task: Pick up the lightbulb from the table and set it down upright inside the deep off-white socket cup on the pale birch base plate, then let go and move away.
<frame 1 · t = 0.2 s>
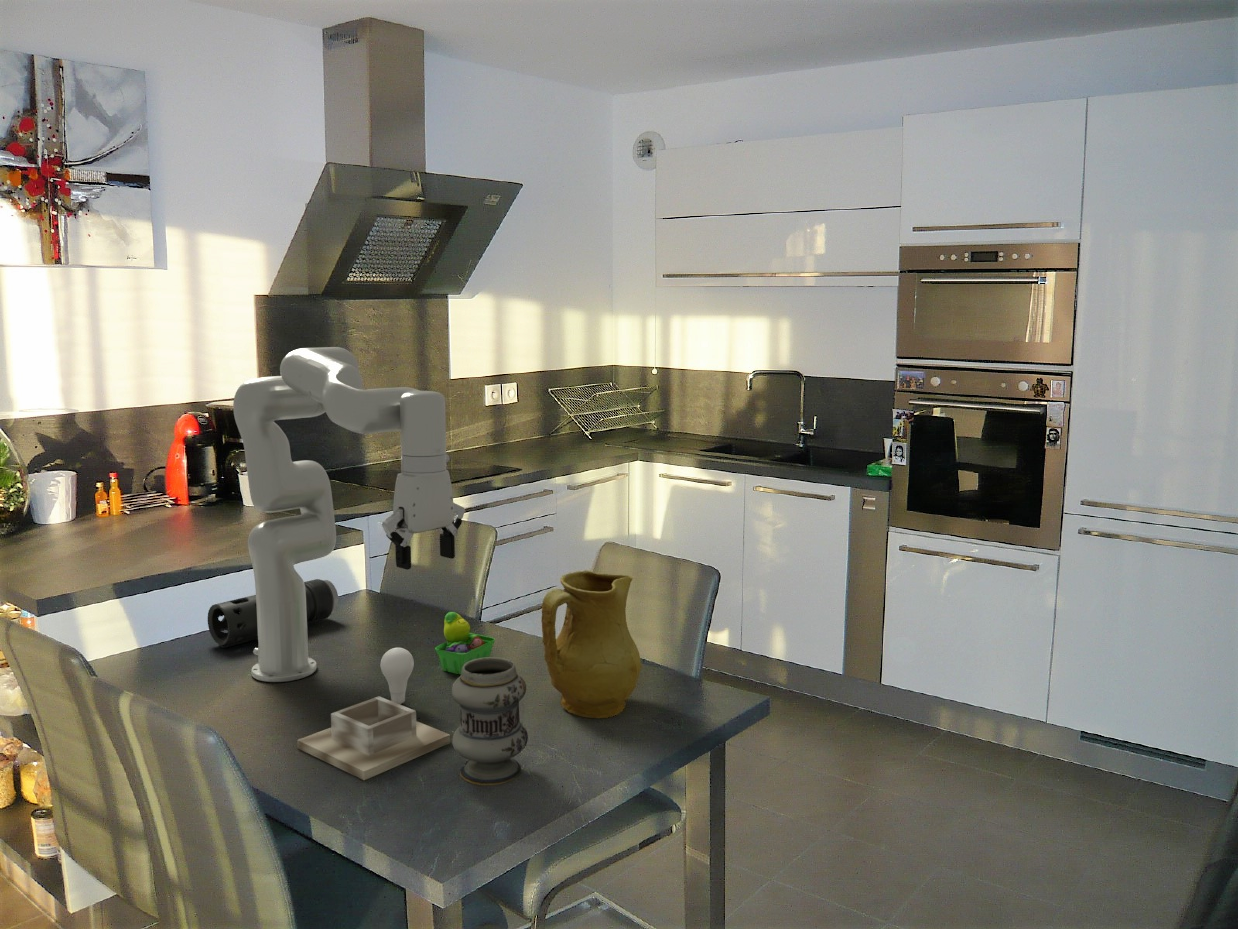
hand: (426, 562, 174), 30 cm above the table, tool pointing down, fingers open, 9 cm apart
pitcher: (591, 707, 190), on the table
fruit basket: (463, 667, 211), on the table
lightbulb: (398, 705, 190), on the table
socket: (374, 745, 172), on the table
muzzle brake: (277, 634, 230), on the table
apothecary jar: (490, 772, 164), on the table
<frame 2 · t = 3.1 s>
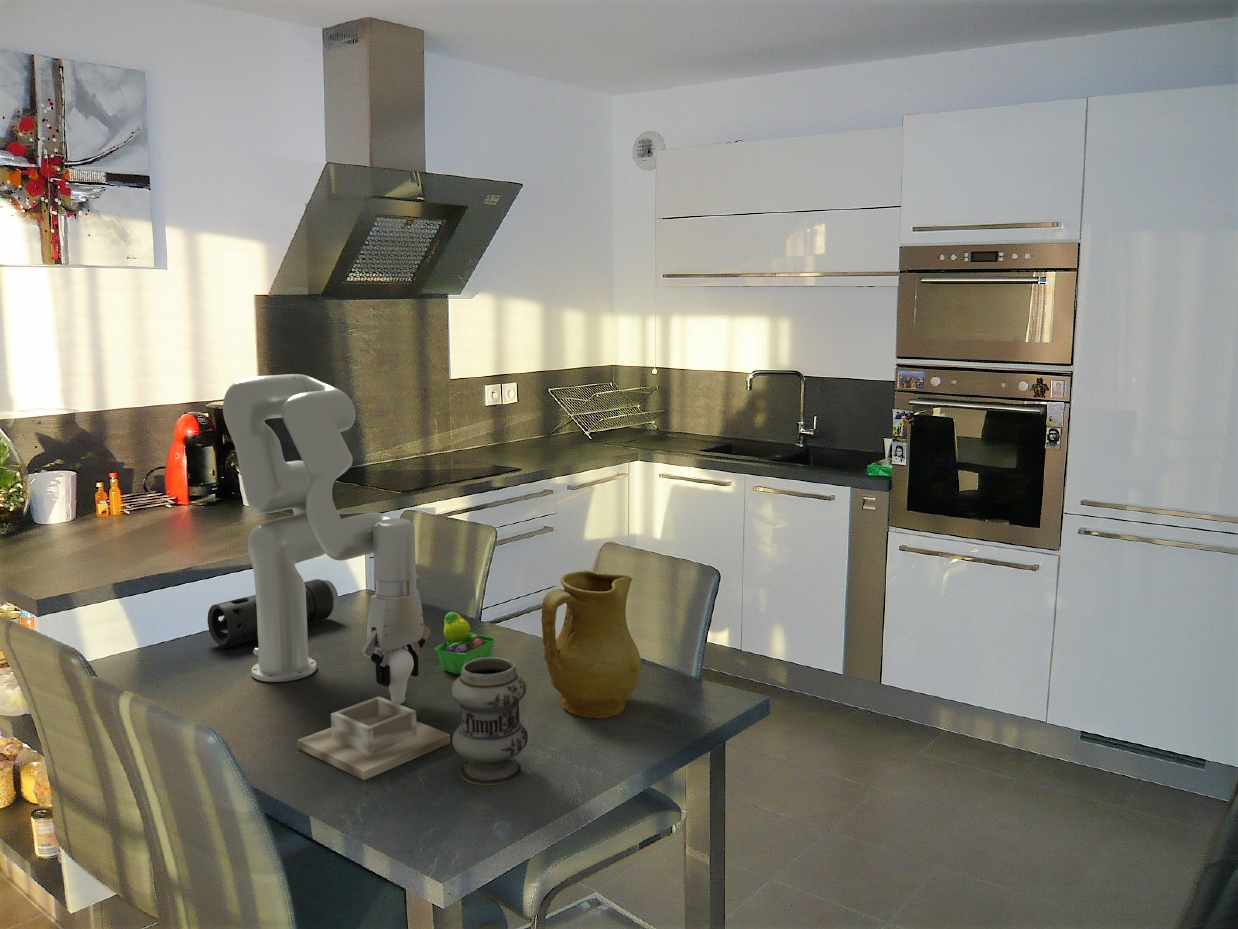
hand: (397, 678, 189), 5 cm above the table, tool pointing down, fingers closed on lightbulb, 6 cm apart
lightbulb: (398, 705, 190), on the table, touching gripper
everything else where it was.
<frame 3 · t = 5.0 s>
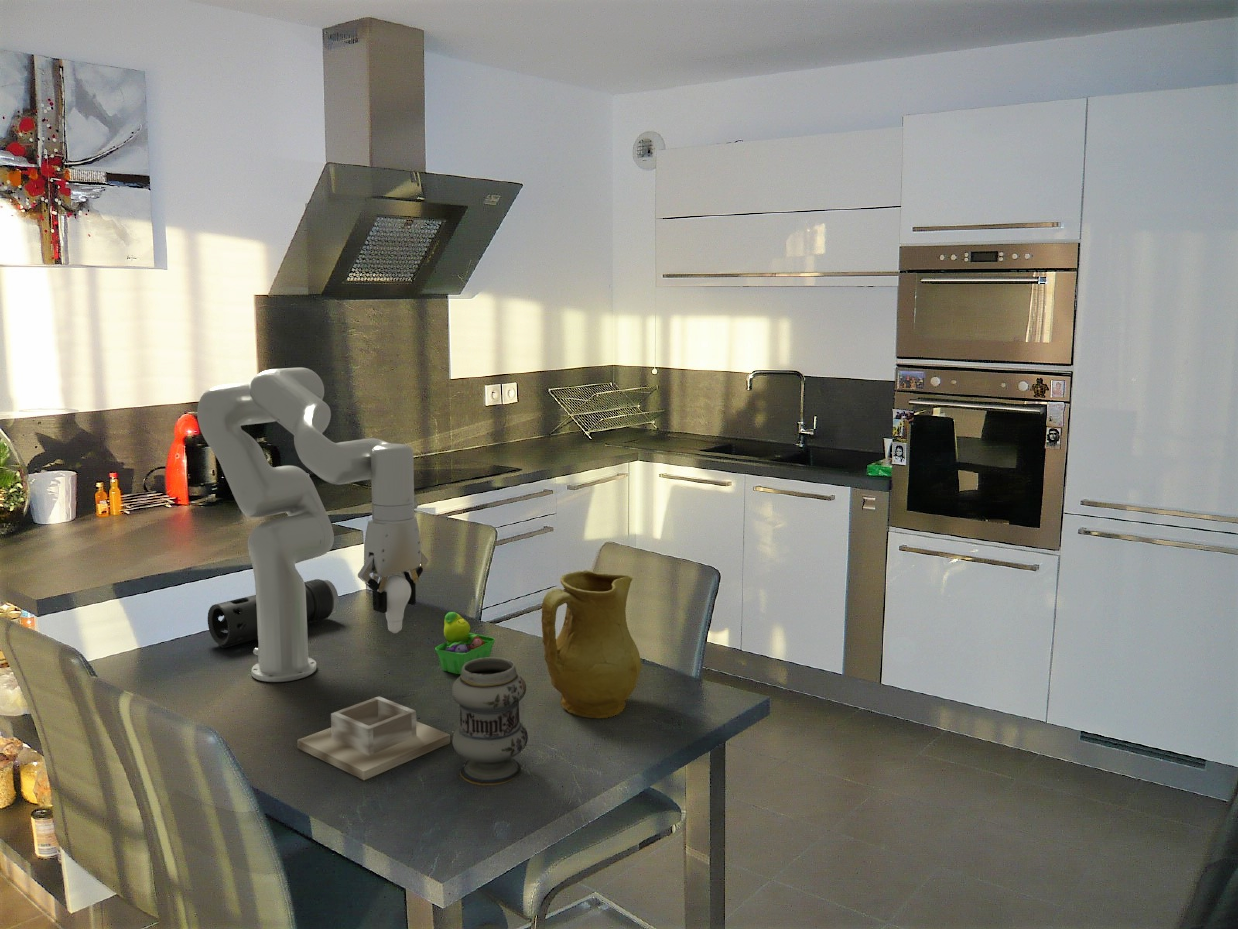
hand: (394, 606, 187), 19 cm above the table, tool pointing down, fingers closed on lightbulb, 6 cm apart
lightbulb: (395, 634, 188), point 14 cm above the table, touching gripper
everything else where it was.
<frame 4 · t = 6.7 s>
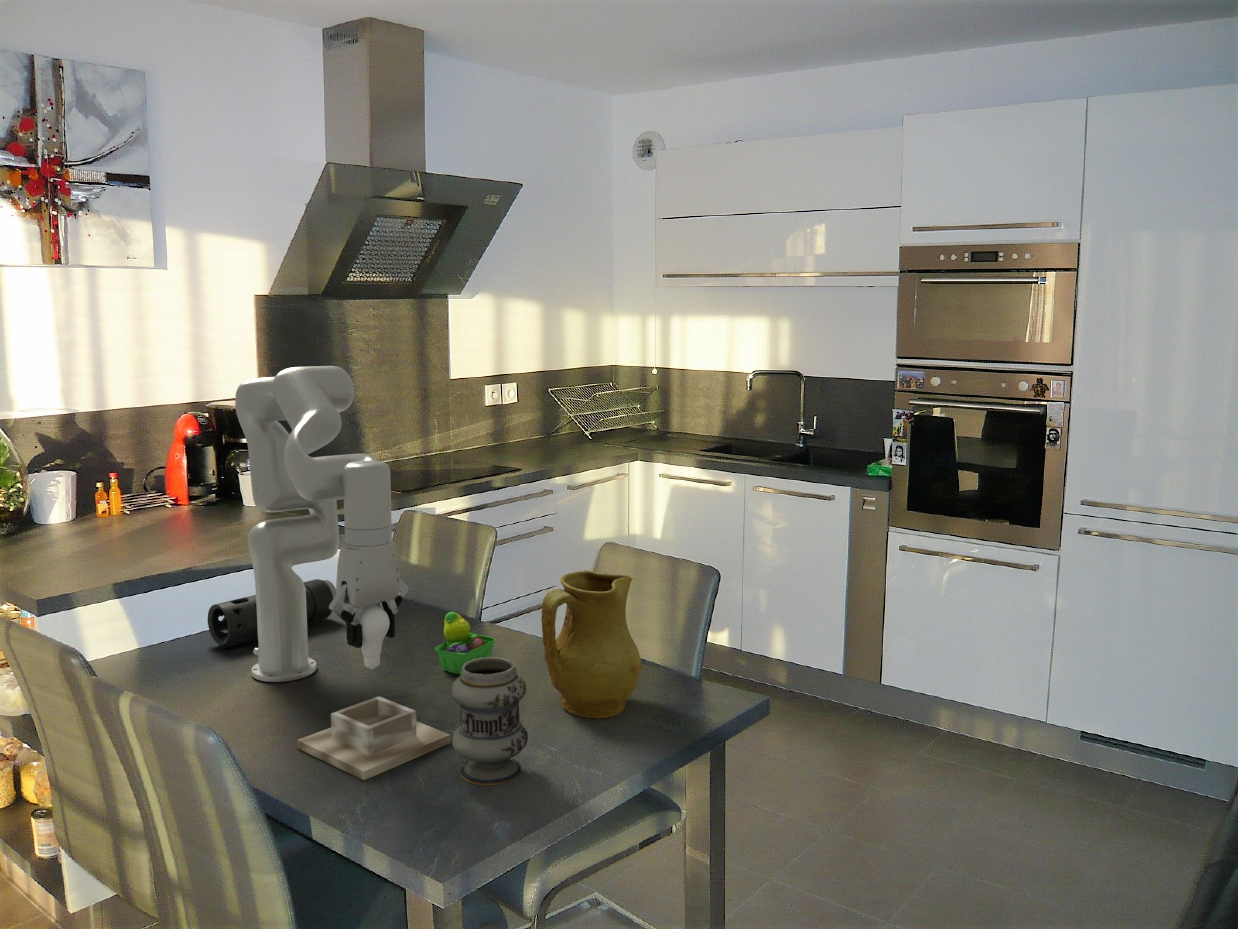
hand: (371, 640, 170), 19 cm above the table, tool pointing down, fingers closed on lightbulb, 6 cm apart
lightbulb: (372, 670, 170), point 13 cm above the table, touching gripper
everything else where it was.
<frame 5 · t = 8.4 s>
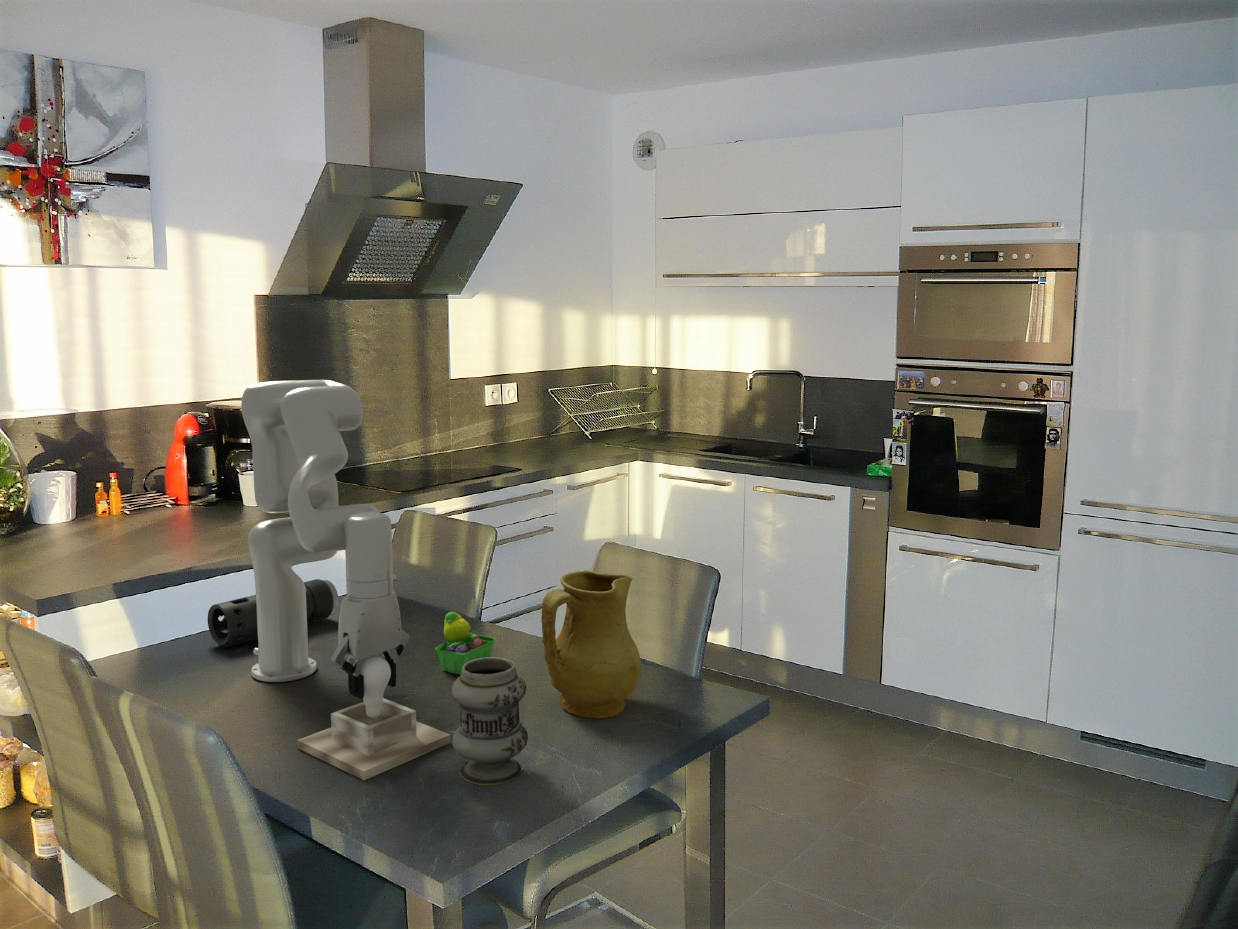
hand: (372, 689, 171), 10 cm above the table, tool pointing down, fingers closed on lightbulb, 6 cm apart
lightbulb: (374, 719, 172), point 5 cm above the table, touching gripper
everything else where it was.
when the fingers open (7 cm above the table, at t = 10.1 s): lightbulb stays where it is, resting on socket.
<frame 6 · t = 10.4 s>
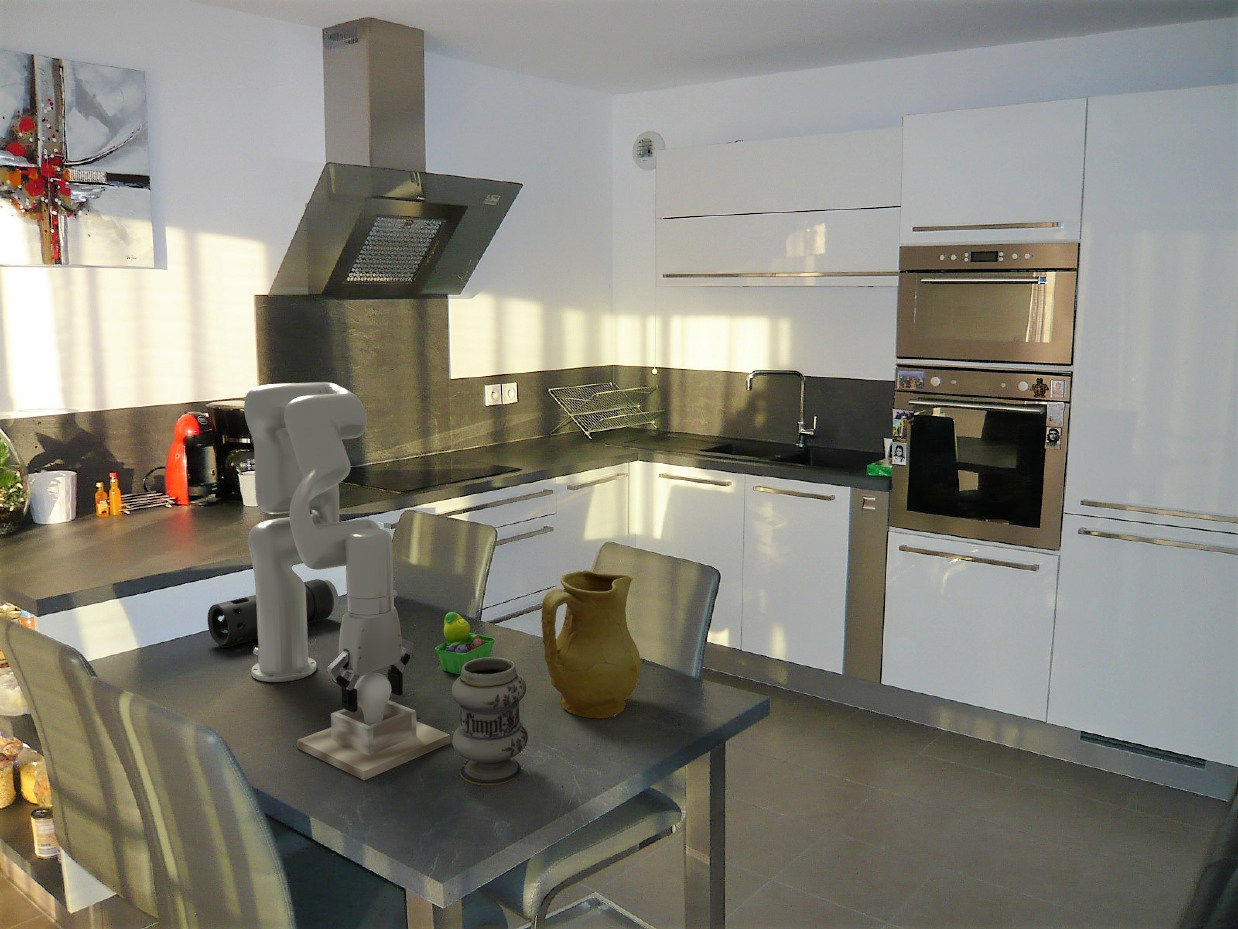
hand: (373, 701, 171), 8 cm above the table, tool pointing down, fingers open, 9 cm apart
lightbulb: (374, 736, 172), point 2 cm above the table, touching socket
everything else where it was.
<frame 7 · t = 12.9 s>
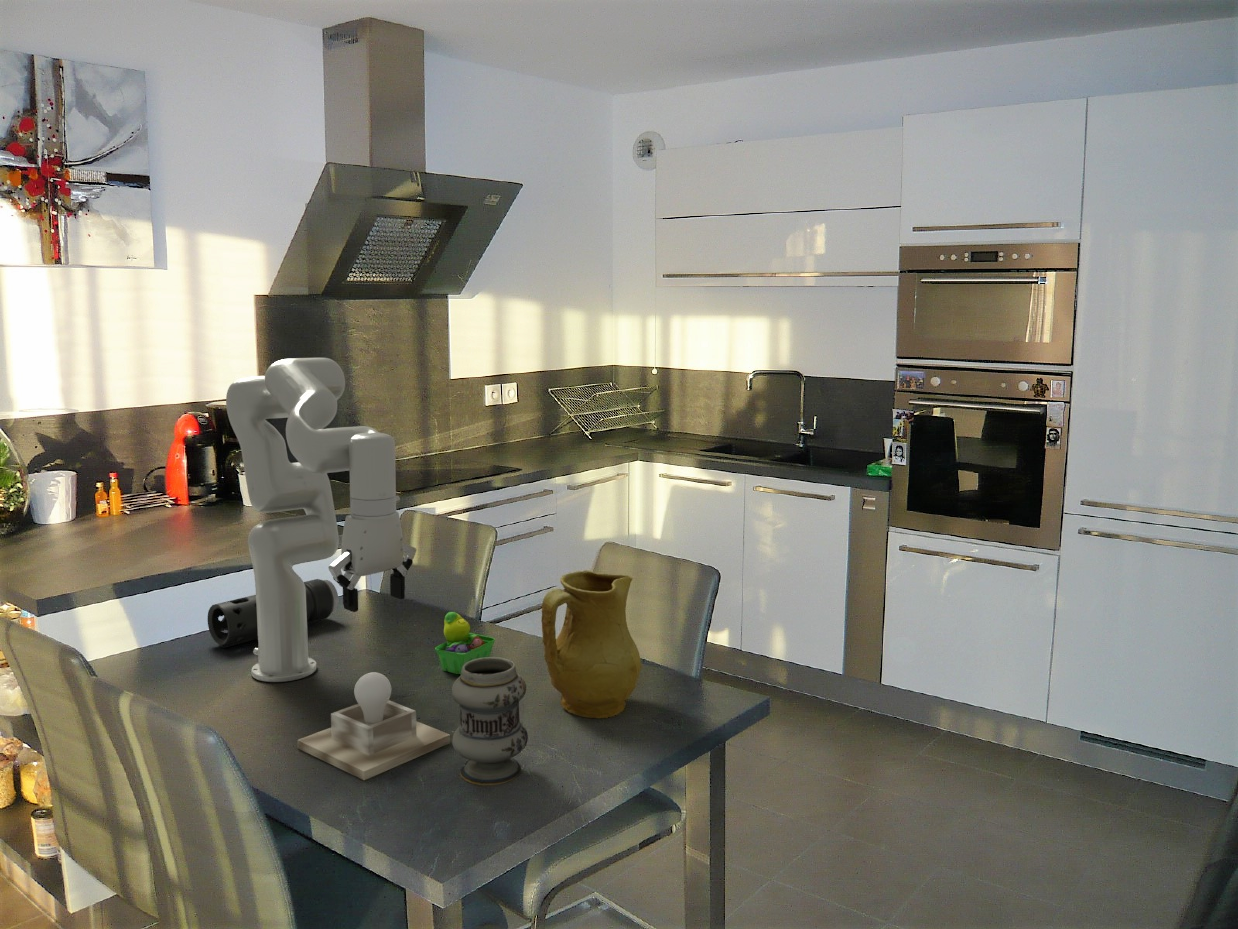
hand: (374, 603, 174), 23 cm above the table, tool pointing down, fingers open, 9 cm apart
nothing on the table moved.
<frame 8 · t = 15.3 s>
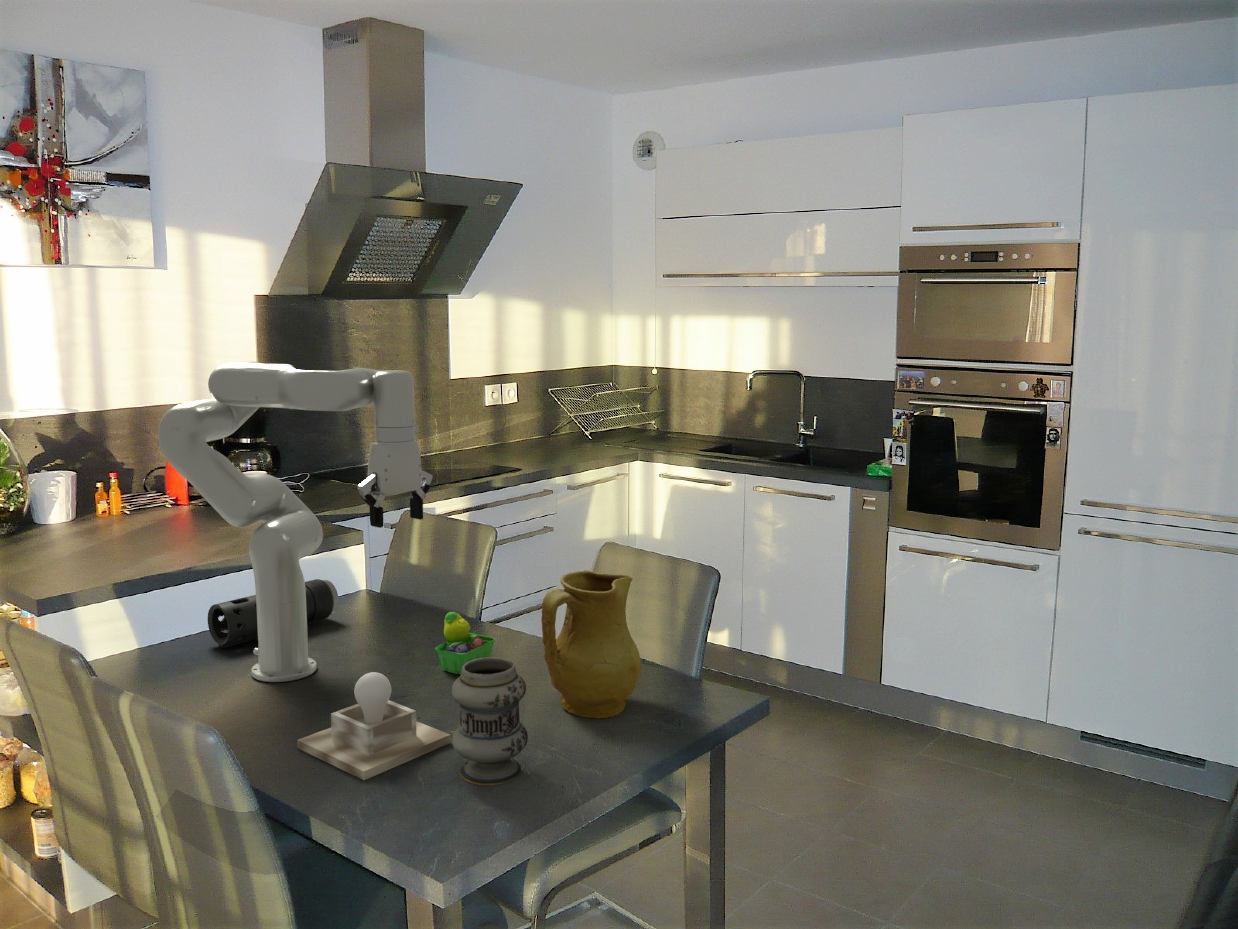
hand: (397, 522, 197), 32 cm above the table, tool pointing down, fingers open, 9 cm apart
nothing on the table moved.
at the end: lightbulb 0.2 cm off-centre on the socket, point 1.6 cm above the socket's base; lightbulb tilted 0°; the gripper is holding nothing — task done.
